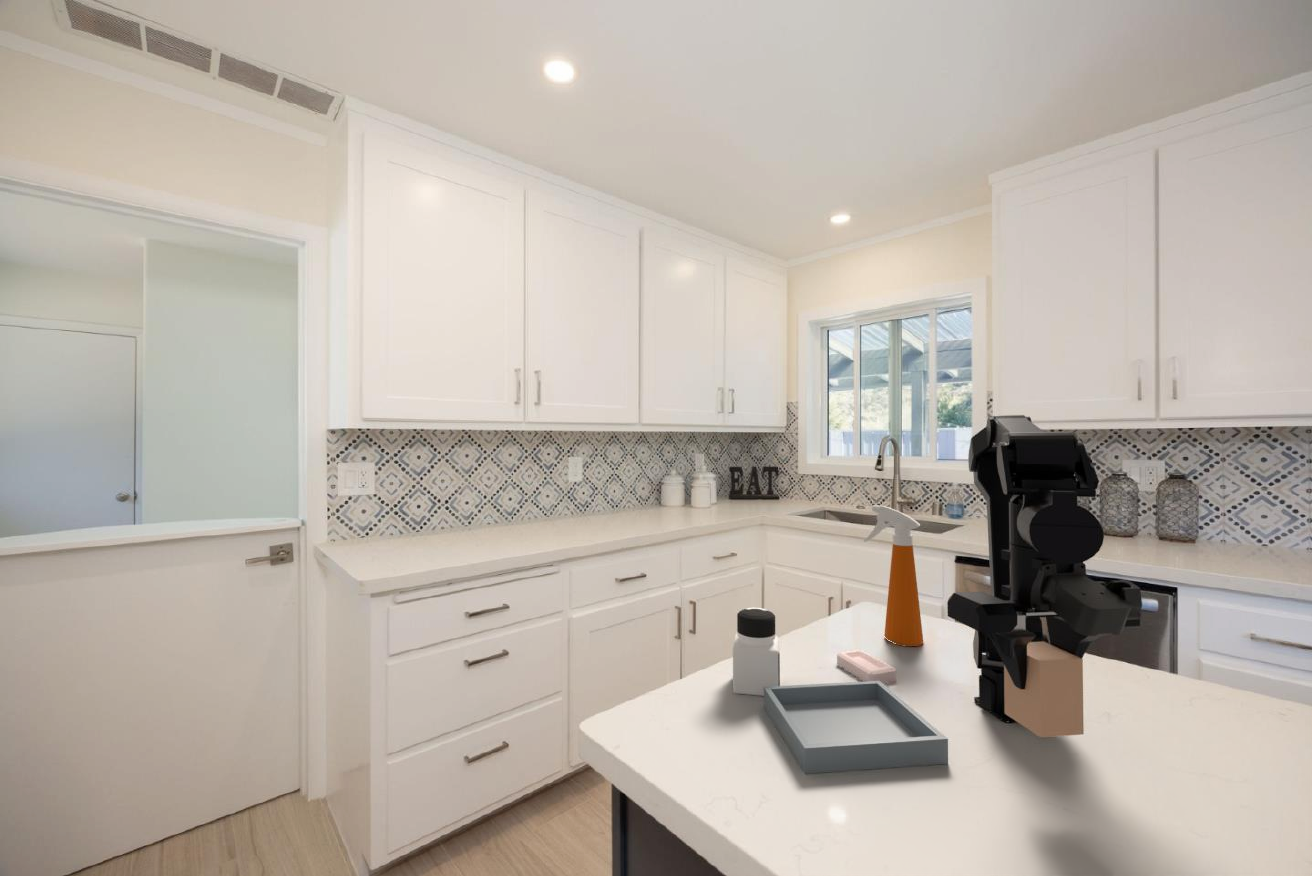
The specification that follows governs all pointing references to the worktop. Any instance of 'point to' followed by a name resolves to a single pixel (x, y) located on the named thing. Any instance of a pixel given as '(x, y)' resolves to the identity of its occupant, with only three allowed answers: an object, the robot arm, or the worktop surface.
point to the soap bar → (866, 666)
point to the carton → (1048, 692)
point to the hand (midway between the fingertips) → (1041, 686)
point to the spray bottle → (900, 579)
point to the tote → (852, 727)
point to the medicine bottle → (755, 652)
